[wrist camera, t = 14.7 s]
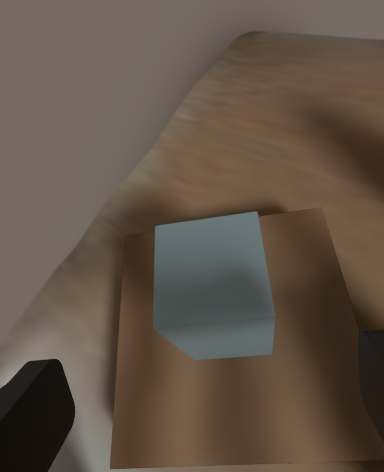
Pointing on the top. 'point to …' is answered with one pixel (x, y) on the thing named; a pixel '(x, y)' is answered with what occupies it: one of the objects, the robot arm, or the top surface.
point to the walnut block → (246, 368)
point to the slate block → (213, 287)
